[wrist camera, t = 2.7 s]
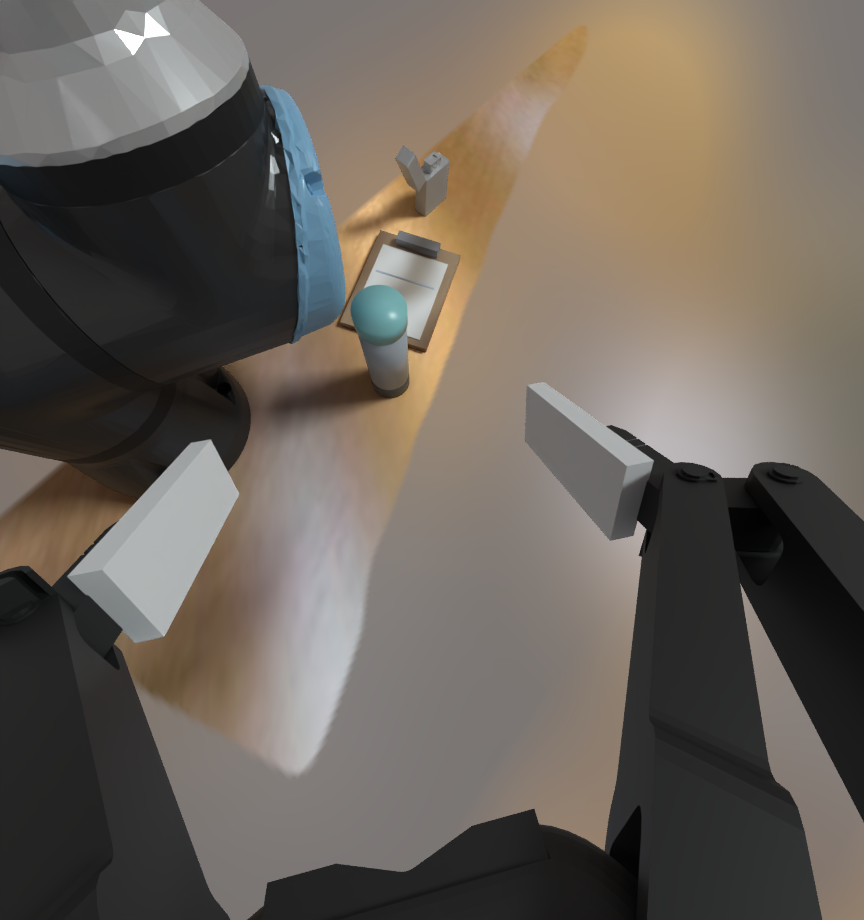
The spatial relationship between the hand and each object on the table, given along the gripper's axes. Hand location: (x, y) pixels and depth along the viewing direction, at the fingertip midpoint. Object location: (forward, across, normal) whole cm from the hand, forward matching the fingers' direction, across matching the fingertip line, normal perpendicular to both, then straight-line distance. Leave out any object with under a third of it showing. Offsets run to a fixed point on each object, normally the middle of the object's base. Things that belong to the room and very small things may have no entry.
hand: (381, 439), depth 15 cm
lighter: (+39, +9, +10) cm, 41 cm away
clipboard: (+31, +4, +3) cm, 31 cm away
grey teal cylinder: (+23, +1, -5) cm, 24 cm away
